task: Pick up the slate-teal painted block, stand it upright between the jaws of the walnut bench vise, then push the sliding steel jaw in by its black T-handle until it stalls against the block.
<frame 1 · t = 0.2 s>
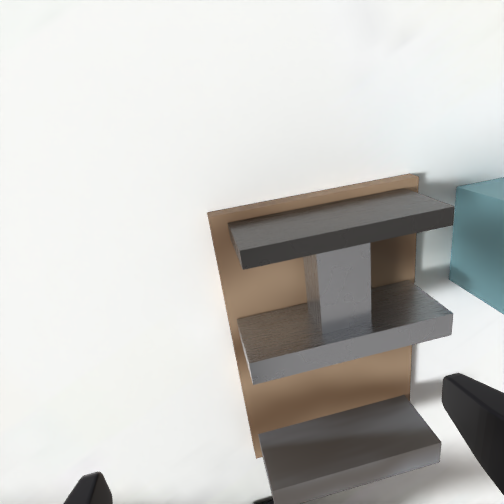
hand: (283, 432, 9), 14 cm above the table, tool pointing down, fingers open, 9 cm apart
vise: (322, 327, 26), on the table
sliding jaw: (336, 280, 21), point 3 cm above the table, slide at 0.0 cm
workpiece block: (478, 229, 26), on the table
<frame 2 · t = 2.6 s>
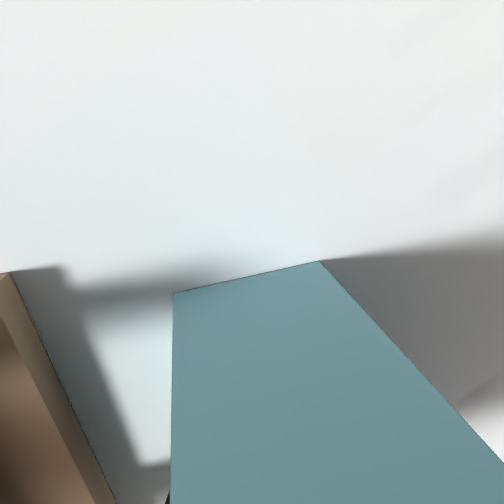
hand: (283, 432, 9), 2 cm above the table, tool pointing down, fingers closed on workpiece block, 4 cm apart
workpiece block: (265, 377, 11), on the table, touching gripper
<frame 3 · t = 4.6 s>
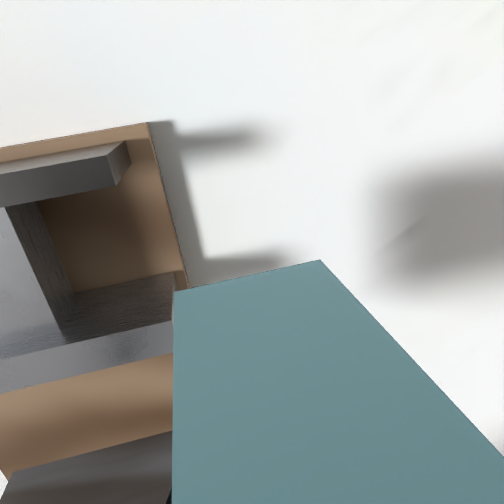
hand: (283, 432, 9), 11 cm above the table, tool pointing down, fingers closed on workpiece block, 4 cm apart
vise: (77, 335, 20), on the table
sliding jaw: (8, 273, 15), point 3 cm above the table, slide at 0.0 cm
workpiece block: (266, 376, 11), point 9 cm above the table, touching gripper
when the fingers open (4 cm above the table, at t = 6.9 s): workpiece block drops 1 cm, resting on vise.
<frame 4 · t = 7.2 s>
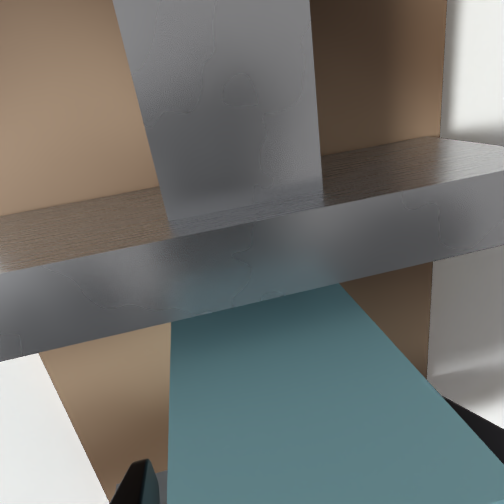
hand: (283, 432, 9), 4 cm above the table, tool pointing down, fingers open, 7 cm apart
vise: (237, 257, 12), on the table
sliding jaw: (216, 64, 7), point 3 cm above the table, slide at 0.0 cm
workpiece block: (254, 348, 12), point 1 cm above the table, touching vise
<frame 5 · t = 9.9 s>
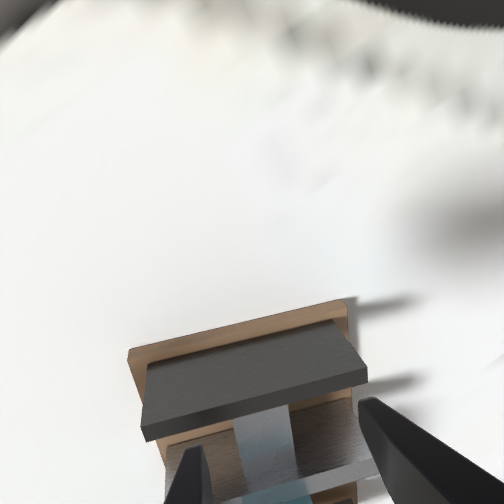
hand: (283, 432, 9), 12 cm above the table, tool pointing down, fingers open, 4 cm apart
vise: (261, 440, 26), on the table
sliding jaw: (260, 420, 21), point 3 cm above the table, slide at 0.0 cm
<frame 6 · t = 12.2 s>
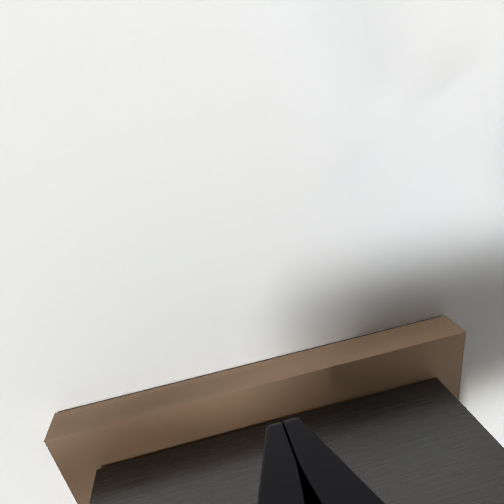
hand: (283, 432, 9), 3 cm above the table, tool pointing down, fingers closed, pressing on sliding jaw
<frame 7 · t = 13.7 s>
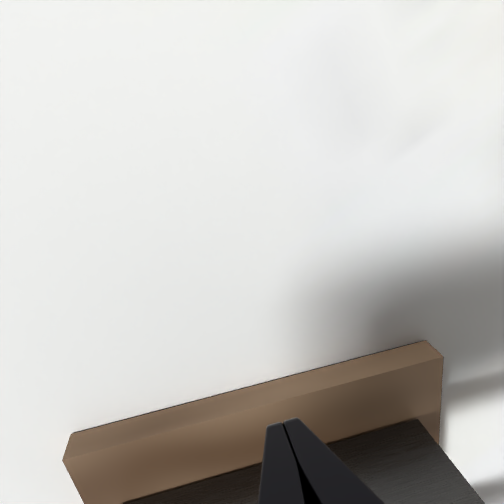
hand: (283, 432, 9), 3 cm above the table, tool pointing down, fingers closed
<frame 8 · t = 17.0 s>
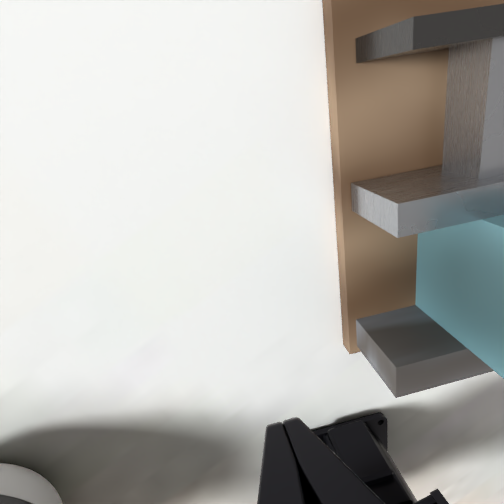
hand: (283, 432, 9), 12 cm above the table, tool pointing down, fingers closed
vise: (441, 176, 21), on the table
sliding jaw: (494, 113, 17), point 3 cm above the table, slide at 2.0 cm
workpiece block: (448, 246, 22), point 1 cm above the table, touching vise
pump dispenser: (2, 492, 24), on the table
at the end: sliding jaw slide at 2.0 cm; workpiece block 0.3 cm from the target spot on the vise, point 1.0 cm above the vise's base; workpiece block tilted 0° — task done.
